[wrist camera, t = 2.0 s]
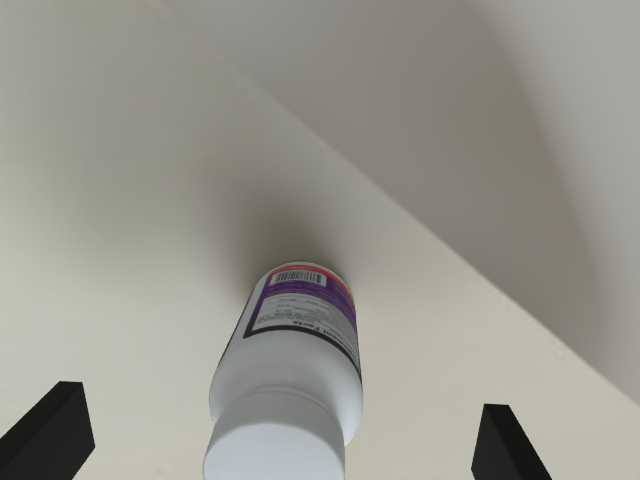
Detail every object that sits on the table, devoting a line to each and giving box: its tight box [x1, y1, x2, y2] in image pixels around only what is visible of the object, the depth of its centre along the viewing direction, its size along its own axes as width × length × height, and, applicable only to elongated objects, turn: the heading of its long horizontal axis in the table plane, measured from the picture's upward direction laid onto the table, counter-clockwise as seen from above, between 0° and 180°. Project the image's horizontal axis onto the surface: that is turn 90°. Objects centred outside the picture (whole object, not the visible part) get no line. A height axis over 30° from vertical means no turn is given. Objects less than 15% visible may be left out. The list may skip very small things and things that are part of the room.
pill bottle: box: [203, 262, 363, 480], centre depth 15 cm, size 5×5×10 cm
